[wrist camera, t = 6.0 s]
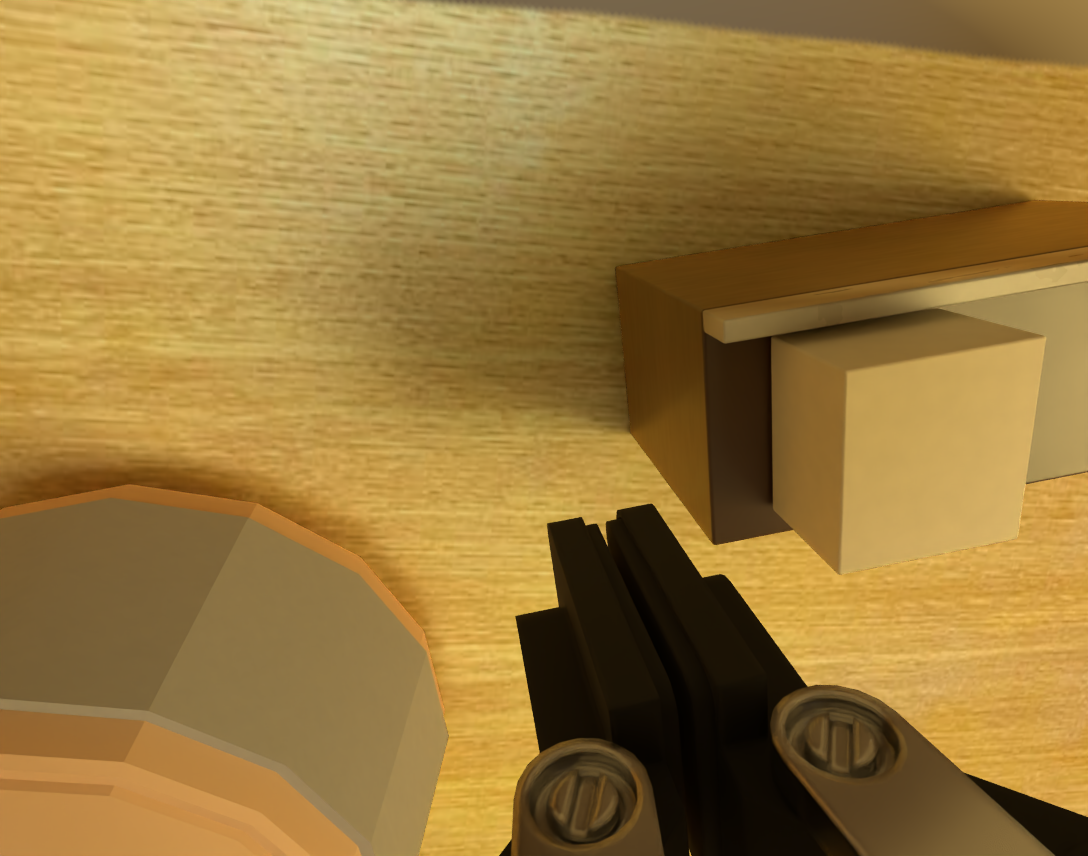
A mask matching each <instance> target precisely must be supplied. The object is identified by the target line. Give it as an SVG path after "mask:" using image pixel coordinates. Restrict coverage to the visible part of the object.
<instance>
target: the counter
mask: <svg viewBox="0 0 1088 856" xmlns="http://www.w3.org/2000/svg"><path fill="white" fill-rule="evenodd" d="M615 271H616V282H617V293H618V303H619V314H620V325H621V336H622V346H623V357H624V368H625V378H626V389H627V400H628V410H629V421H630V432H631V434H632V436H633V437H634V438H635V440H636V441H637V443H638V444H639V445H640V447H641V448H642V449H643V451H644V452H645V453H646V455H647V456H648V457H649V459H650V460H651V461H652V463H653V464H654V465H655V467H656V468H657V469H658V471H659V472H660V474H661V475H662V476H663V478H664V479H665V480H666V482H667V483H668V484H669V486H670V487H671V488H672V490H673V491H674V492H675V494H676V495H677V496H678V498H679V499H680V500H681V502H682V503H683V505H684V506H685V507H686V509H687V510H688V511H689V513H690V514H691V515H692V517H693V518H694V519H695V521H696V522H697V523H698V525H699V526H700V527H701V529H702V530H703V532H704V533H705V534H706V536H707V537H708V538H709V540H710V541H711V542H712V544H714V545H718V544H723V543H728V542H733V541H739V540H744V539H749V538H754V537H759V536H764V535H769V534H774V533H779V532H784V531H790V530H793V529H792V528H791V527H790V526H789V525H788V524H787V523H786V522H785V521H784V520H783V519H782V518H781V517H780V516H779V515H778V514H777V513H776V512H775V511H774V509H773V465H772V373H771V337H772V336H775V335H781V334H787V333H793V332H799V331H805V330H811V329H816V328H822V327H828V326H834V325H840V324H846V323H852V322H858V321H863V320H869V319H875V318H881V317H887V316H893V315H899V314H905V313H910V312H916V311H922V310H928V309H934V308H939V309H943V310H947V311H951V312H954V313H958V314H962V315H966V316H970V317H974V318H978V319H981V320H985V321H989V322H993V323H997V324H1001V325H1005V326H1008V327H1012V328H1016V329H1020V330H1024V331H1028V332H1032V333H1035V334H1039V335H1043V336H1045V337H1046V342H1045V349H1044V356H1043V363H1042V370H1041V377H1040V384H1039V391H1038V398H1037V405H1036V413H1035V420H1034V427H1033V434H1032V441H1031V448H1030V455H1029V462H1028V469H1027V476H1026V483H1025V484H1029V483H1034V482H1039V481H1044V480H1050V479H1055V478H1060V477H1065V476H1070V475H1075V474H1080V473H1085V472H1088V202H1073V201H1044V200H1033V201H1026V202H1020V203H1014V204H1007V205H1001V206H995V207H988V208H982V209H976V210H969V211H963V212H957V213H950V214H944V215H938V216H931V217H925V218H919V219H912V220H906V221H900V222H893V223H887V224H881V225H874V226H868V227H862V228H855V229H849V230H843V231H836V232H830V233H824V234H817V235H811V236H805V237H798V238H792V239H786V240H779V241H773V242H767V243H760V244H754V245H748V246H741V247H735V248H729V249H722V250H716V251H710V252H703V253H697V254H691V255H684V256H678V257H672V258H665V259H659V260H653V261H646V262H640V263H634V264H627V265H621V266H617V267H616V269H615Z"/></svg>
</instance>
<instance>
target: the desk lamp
mask: <svg viewBox="0 0 1088 856" xmlns="http://www.w3.org/2000/svg"><path fill="white" fill-rule="evenodd" d="M444 712H445V710H444V706H443V702H442V698H441V695H440V691H439V687H438V683H437V679H436V675H435V671H434V668H433V664H432V660H431V656H430V652H429V648H428V644H427V641H426V637H425V633H424V630H423V629H422V628H421V627H420V626H419V624H418V623H417V622H416V621H415V620H414V619H413V618H412V616H411V615H410V614H409V613H408V612H407V611H406V609H405V608H404V607H403V606H402V605H401V604H400V602H399V601H398V600H397V599H396V598H395V597H394V595H393V594H392V593H391V592H390V591H389V590H388V588H387V587H386V586H385V585H384V584H383V583H382V581H381V580H380V579H379V578H378V577H377V576H376V574H375V573H374V572H373V571H372V570H371V569H370V567H369V566H368V565H367V564H366V563H365V562H364V560H363V559H362V558H361V557H360V556H358V555H356V554H354V553H352V552H350V551H348V550H346V549H345V548H343V547H341V546H339V545H337V544H335V543H333V542H331V541H329V540H327V539H325V538H323V537H321V536H320V535H318V534H316V533H314V532H312V531H310V530H308V529H306V528H304V527H302V526H300V525H298V524H297V523H295V522H293V521H291V520H289V519H287V518H285V517H283V516H281V515H279V514H277V513H275V512H274V511H272V510H270V509H268V508H266V507H264V506H262V505H260V504H258V503H254V502H247V501H240V500H233V499H227V498H220V497H213V496H206V495H200V494H193V493H186V492H180V491H173V490H166V489H159V488H153V487H146V486H139V485H132V484H128V485H122V486H117V487H112V488H106V489H101V490H96V491H90V492H85V493H80V494H74V495H69V496H64V497H58V498H53V499H48V500H42V501H37V502H32V503H27V504H21V505H16V506H11V507H5V508H2V509H1V510H0V856H419V852H420V848H421V844H422V840H423V836H424V832H425V828H426V824H427V820H428V816H429V812H430V808H431V804H432V800H433V796H434V792H435V788H436V784H437V780H438V776H439V772H440V768H441V764H442V760H443V756H444V752H445V748H446V744H447V740H448V736H449V735H448V731H447V728H446V724H445V720H444Z"/></svg>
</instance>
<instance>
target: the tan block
mask: <svg viewBox="0 0 1088 856" xmlns="http://www.w3.org/2000/svg"><path fill="white" fill-rule="evenodd" d="M1045 342H1046V337H1045V336H1043V335H1039V334H1035V333H1032V332H1028V331H1024V330H1020V329H1016V328H1012V327H1008V326H1005V325H1001V324H997V323H993V322H989V321H985V320H981V319H978V318H974V317H970V316H966V315H962V314H958V313H954V312H951V311H947V310H943V309H939V308H934V309H928V310H922V311H916V312H910V313H905V314H899V315H893V316H887V317H881V318H875V319H869V320H863V321H858V322H852V323H846V324H840V325H834V326H828V327H822V328H816V329H811V330H805V331H799V332H793V333H787V334H781V335H775V336H772V337H771V373H772V465H773V509H774V511H775V512H776V513H777V514H778V515H779V516H780V517H781V518H782V519H783V520H784V521H785V522H786V523H787V524H788V525H789V526H790V527H791V528H792V529H793V530H794V531H795V532H796V533H797V534H798V535H799V536H800V537H801V538H802V539H803V540H804V541H805V542H806V543H807V544H808V545H809V546H810V547H811V548H812V549H813V550H814V551H815V552H816V553H817V554H818V555H819V556H820V557H821V558H822V559H823V560H824V561H825V562H826V563H827V564H828V565H829V566H830V567H831V568H832V569H833V570H834V571H835V572H836V573H837V574H839V575H842V574H847V573H852V572H857V571H862V570H867V569H872V568H877V567H882V566H886V565H891V564H896V563H901V562H906V561H911V560H916V559H921V558H926V557H931V556H936V555H941V554H945V553H950V552H955V551H960V550H965V549H970V548H975V547H980V546H985V545H990V544H995V543H1000V542H1004V541H1009V540H1014V539H1017V538H1018V533H1019V526H1020V519H1021V512H1022V505H1023V498H1024V491H1025V483H1026V476H1027V469H1028V462H1029V455H1030V448H1031V441H1032V434H1033V427H1034V420H1035V413H1036V405H1037V398H1038V391H1039V384H1040V377H1041V370H1042V363H1043V356H1044V349H1045Z"/></svg>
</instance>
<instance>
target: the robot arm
mask: <svg viewBox="0 0 1088 856" xmlns="http://www.w3.org/2000/svg"><path fill="white" fill-rule="evenodd" d="M616 518H617V520H611V521H607V522H606V534H607V543H608V546H607V544H606V542H605V540H604V538H603V536H602V533H601V531H600V529H599V527H598V525H597V524H591V525H585V523H584V521H583V519H582V517H579V518H574V519H569V520H563V521H558V522H553V523H548V524H547V529H548V537H549V543H550V550H551V557H552V563H553V570H554V577H555V583H556V590H557V597H558V603H559V607H557V608H553V609H548V610H543V611H538V612H533V613H528V614H523V615H518V616H516V622H517V628H518V633H519V639H520V644H521V650H522V655H523V661H524V667H525V672H526V678H527V683H528V689H529V695H530V700H531V706H532V711H533V717H534V722H535V728H536V734H537V739H538V745H539V750H540V754H539V755H538V756H537V757H536V758H535V759H533V760H532V761H531V762H530V763H529V764H528V765H527V767H526V769H525V770H524V772H523V774H522V775H521V777H520V779H519V780H518V783H517V787H516V792H515V796H514V805H513V826H512V840H511V841H510V842H509V844H508V845H507V846H506V848H505V849H504V850H503V851H502V853H501V854H500V855H499V856H689V850H690V852H691V855H692V856H1088V817H1086V816H1083V815H1080V814H1077V813H1075V812H1072V811H1069V810H1066V809H1063V808H1061V807H1058V806H1055V805H1052V804H1050V803H1047V802H1044V801H1041V800H1038V799H1036V798H1033V797H1030V796H1027V795H1025V794H1022V793H1019V792H1016V791H1013V790H1011V789H1008V788H1005V787H1002V786H1000V785H997V784H994V783H991V782H988V781H986V780H983V779H980V778H977V777H975V776H972V775H969V774H966V773H963V772H962V771H961V770H960V769H959V768H958V767H957V766H956V765H954V764H953V763H952V762H951V761H950V760H949V759H948V758H947V757H946V756H944V755H943V754H942V753H941V752H940V751H939V750H938V749H937V748H936V747H935V746H933V745H932V744H931V743H930V742H929V741H928V740H927V739H926V738H925V737H923V736H922V735H921V734H920V733H919V732H918V731H917V730H916V729H915V728H914V727H912V726H911V725H910V724H909V723H908V722H907V721H906V720H905V719H904V718H902V717H901V716H900V715H899V714H898V713H897V712H896V711H894V710H893V709H892V708H890V707H889V706H887V705H886V704H885V703H883V702H882V701H880V700H879V699H877V698H875V697H872V696H870V695H868V694H866V693H863V692H861V691H859V690H855V689H850V688H846V687H841V686H837V685H815V686H810V687H807V685H806V684H805V683H804V681H803V680H802V679H801V677H800V676H799V675H798V673H797V672H796V670H795V669H794V668H793V666H792V665H791V664H790V662H789V661H788V660H787V658H786V657H785V655H784V654H783V653H782V651H781V650H780V649H779V647H778V646H777V645H776V643H775V642H774V640H773V639H772V638H771V636H770V635H769V634H768V632H767V631H766V629H765V628H764V627H763V625H762V624H761V623H760V621H759V620H758V619H757V617H756V616H755V614H754V613H753V612H752V610H751V609H750V608H749V606H748V605H747V604H746V602H745V601H744V599H743V598H742V597H741V595H740V594H739V593H738V591H737V590H736V589H735V587H734V586H733V584H732V583H731V582H730V581H729V579H728V578H727V577H726V576H725V575H721V574H719V575H714V576H709V577H704V578H702V577H701V575H700V574H699V572H698V571H697V569H696V568H695V566H694V565H693V563H692V562H691V560H690V559H689V557H688V556H687V554H686V553H685V551H684V550H683V548H682V547H681V545H680V544H679V542H678V541H677V539H676V538H675V536H674V535H673V533H672V532H671V530H670V529H669V527H668V526H667V524H666V523H665V521H664V520H663V518H662V517H661V515H660V514H659V512H658V511H657V509H656V508H655V506H654V505H653V504H646V505H641V506H636V507H631V508H626V509H620V510H617V517H616Z"/></svg>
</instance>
